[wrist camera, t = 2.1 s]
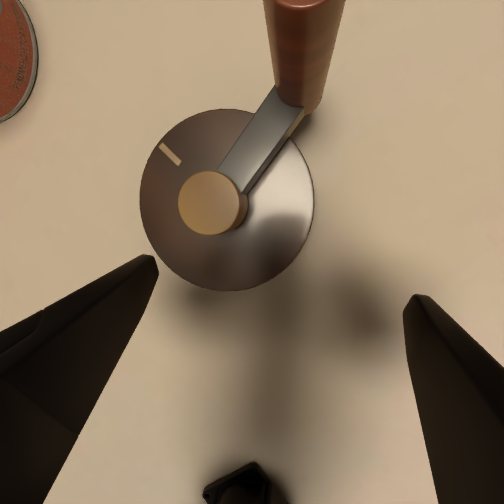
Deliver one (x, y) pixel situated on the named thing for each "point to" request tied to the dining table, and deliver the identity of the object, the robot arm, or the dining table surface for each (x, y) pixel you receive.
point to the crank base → (257, 217)
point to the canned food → (15, 57)
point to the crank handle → (267, 112)
